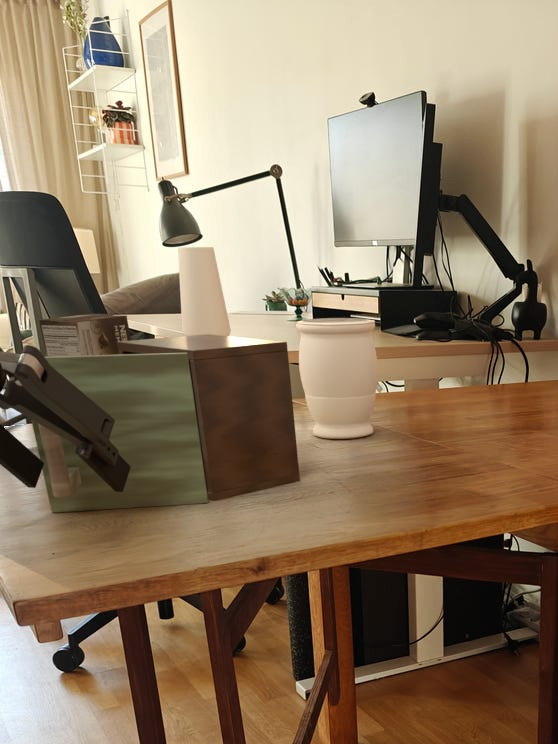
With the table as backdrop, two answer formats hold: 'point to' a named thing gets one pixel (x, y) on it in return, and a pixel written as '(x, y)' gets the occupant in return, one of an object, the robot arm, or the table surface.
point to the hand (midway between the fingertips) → (79, 477)
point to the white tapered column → (201, 293)
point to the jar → (339, 375)
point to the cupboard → (237, 409)
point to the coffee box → (84, 334)
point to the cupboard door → (130, 434)
